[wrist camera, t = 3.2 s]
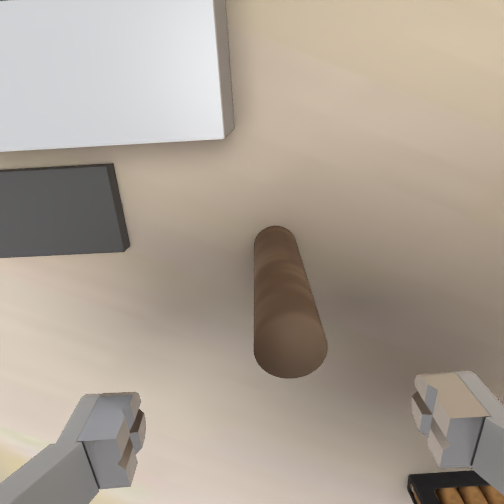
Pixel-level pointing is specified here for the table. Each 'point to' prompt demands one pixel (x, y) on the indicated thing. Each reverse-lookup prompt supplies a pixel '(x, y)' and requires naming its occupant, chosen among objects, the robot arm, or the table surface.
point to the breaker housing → (113, 72)
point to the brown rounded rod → (284, 308)
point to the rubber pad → (61, 211)
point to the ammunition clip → (452, 489)
